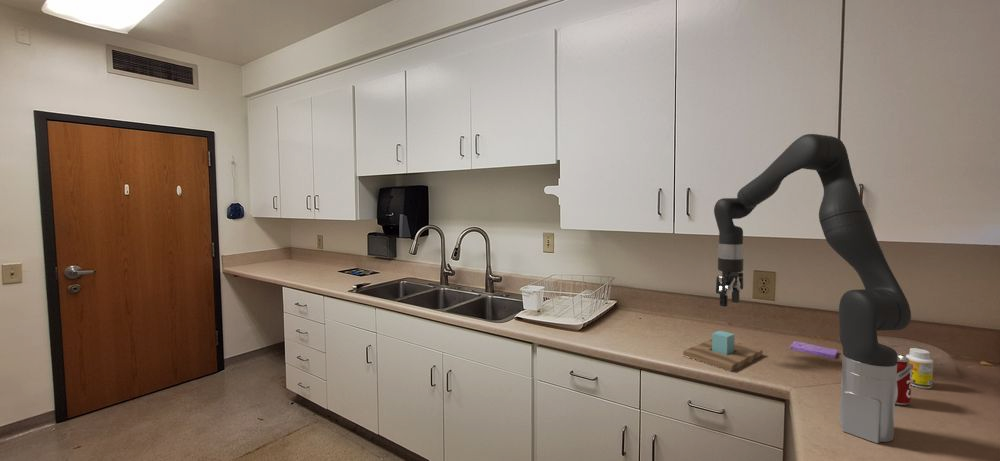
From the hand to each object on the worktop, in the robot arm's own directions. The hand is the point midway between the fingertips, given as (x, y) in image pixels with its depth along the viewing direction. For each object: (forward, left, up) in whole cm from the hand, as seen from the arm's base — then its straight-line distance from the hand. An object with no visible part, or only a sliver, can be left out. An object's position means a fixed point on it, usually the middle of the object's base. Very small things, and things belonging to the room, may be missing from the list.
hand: (729, 304), depth 136 cm
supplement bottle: (+22, -42, -19) cm, 51 cm away
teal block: (-1, +2, -19) cm, 19 cm away
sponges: (+29, -15, -19) cm, 38 cm away
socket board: (0, +2, -19) cm, 19 cm away
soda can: (+4, -40, -19) cm, 45 cm away
